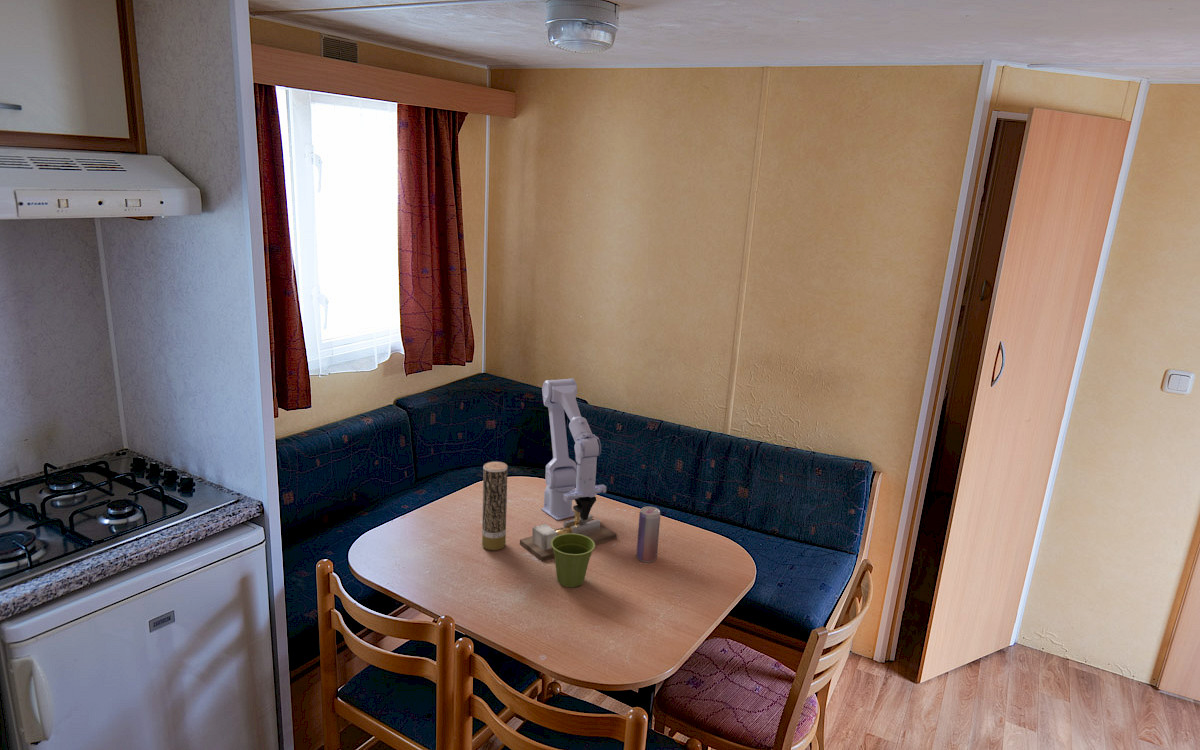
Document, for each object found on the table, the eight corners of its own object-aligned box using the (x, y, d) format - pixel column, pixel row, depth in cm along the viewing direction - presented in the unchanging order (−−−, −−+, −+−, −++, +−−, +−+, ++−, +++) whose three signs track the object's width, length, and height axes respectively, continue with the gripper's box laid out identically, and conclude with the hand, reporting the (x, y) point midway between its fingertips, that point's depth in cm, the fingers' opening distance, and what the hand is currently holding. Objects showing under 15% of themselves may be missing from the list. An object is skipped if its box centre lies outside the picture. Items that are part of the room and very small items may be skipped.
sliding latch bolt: (545, 539, 220) (547, 512, 218) (576, 530, 226) (577, 504, 224) (551, 542, 218) (552, 516, 215) (581, 533, 224) (583, 508, 222)
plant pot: (554, 595, 195) (555, 556, 192) (545, 572, 206) (546, 534, 203) (597, 590, 198) (600, 552, 195) (586, 568, 209) (588, 531, 206)
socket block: (532, 541, 219) (532, 527, 218) (545, 537, 222) (545, 523, 221) (544, 550, 214) (544, 536, 213) (557, 546, 217) (557, 532, 216)
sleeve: (563, 533, 225) (563, 521, 224) (589, 526, 231) (590, 514, 230) (572, 540, 221) (573, 528, 220) (599, 532, 227) (600, 520, 226)
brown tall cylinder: (507, 541, 221) (509, 462, 215) (502, 552, 215) (504, 471, 208) (485, 539, 222) (486, 460, 215) (479, 550, 215) (480, 469, 209)
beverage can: (632, 559, 215) (636, 511, 211) (641, 551, 220) (645, 504, 216) (651, 565, 212) (655, 516, 209) (660, 556, 218) (664, 509, 214)
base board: (519, 544, 220) (519, 539, 220) (593, 523, 236) (593, 518, 236) (541, 561, 211) (542, 556, 211) (616, 538, 227) (616, 534, 227)
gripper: (574, 486, 214) (571, 529, 218) (613, 476, 223) (610, 518, 226) (560, 477, 220) (558, 520, 223) (599, 468, 228) (596, 509, 232)
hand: (583, 518), depth 225 cm, fingers closed
